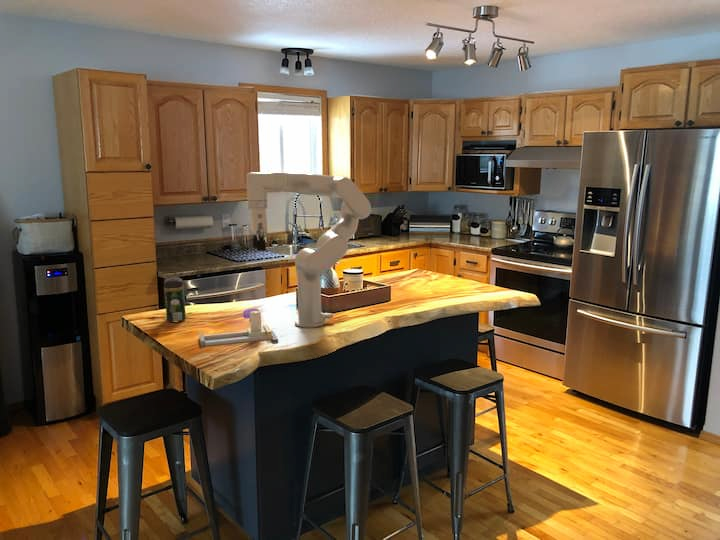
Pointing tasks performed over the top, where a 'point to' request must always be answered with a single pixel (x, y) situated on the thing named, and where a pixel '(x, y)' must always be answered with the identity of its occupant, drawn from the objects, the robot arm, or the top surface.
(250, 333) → the keeper
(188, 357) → the top surface
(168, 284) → the coffee jar
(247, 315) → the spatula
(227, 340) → the track
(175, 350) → the top surface
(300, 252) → the robot arm
